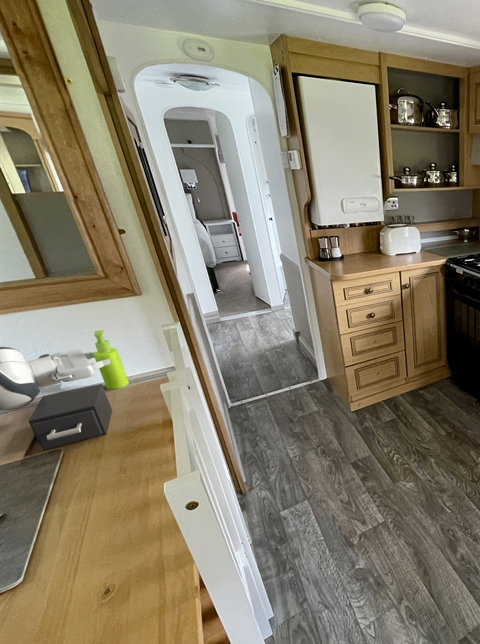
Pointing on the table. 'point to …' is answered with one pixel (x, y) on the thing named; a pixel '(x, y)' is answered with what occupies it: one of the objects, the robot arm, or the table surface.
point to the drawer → (67, 429)
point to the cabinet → (74, 406)
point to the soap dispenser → (114, 371)
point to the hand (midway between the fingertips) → (106, 357)
